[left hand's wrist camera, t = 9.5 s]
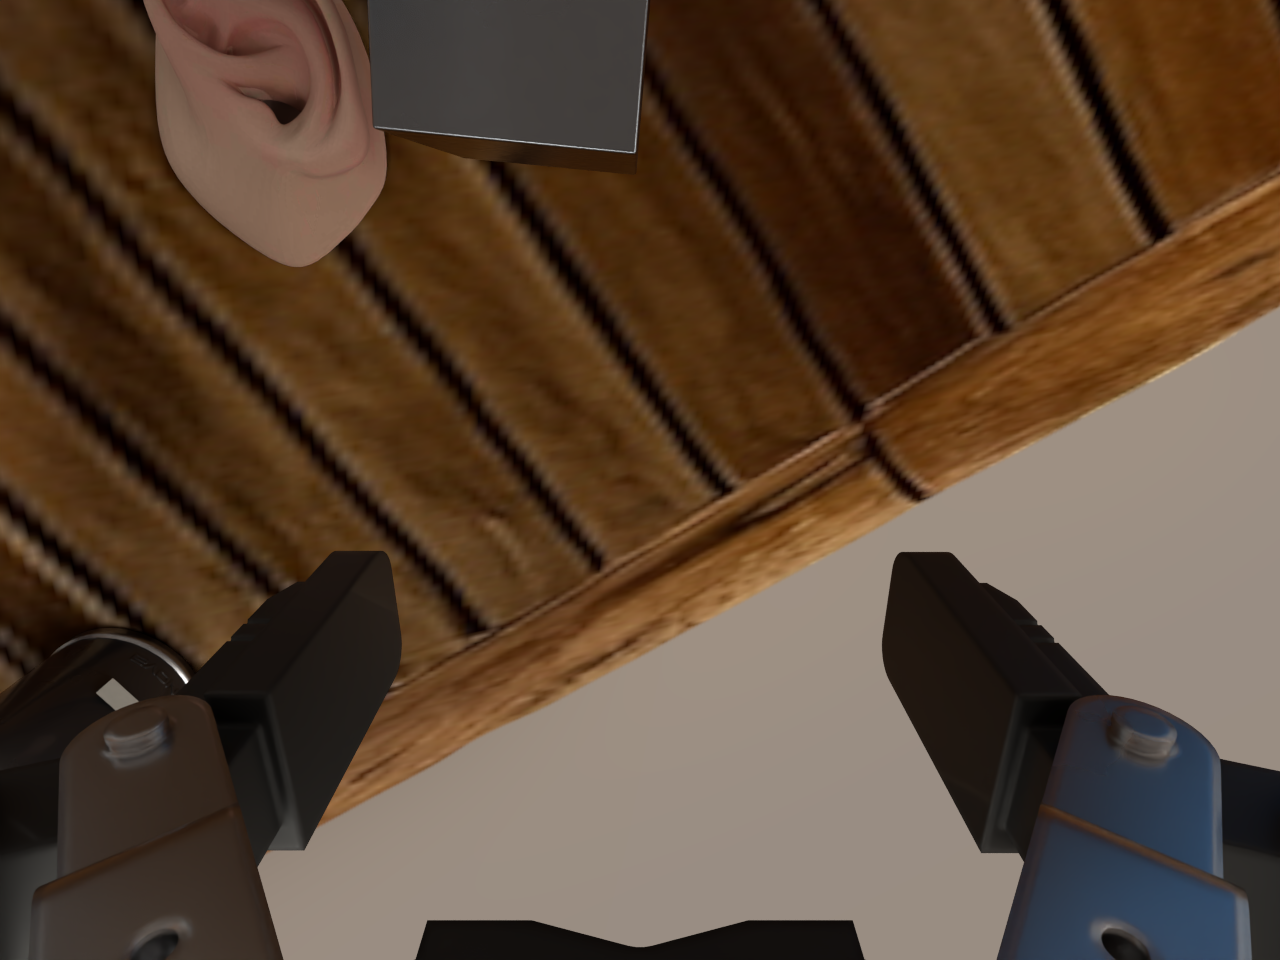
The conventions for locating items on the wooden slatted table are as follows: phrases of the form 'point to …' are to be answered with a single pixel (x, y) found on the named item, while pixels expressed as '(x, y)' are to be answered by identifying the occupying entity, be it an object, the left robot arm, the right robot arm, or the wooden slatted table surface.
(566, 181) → the wooden slatted table surface
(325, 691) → the left robot arm
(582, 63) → the box
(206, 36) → the anatomical model
